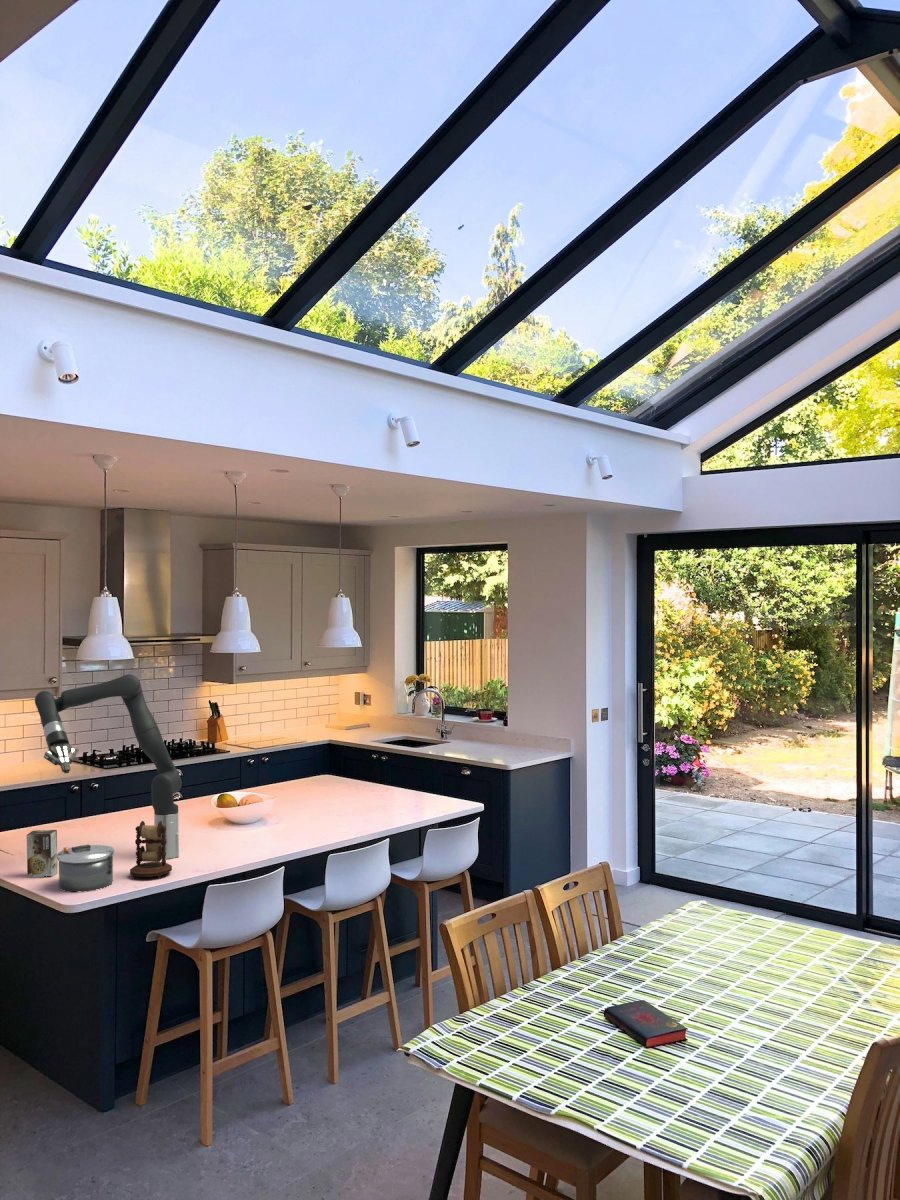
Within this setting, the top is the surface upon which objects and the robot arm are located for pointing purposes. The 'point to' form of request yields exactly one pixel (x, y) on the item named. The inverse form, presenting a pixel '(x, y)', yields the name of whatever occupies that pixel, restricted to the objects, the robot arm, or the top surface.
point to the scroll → (151, 851)
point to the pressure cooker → (85, 875)
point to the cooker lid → (85, 853)
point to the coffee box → (41, 853)
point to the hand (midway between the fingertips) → (67, 771)
